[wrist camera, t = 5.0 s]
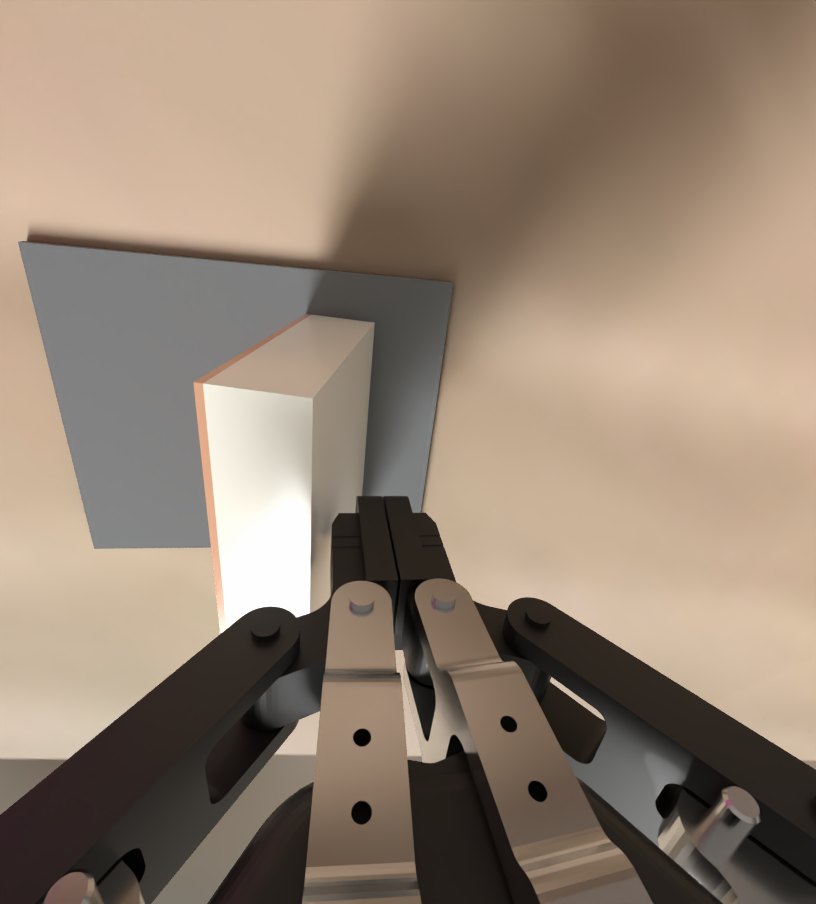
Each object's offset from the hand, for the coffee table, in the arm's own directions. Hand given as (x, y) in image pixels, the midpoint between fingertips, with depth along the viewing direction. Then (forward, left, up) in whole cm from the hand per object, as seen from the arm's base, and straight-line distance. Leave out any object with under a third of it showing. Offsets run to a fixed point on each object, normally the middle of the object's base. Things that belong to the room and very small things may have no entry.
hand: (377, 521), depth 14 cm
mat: (+4, 0, -7) cm, 8 cm away
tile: (+1, 0, -6) cm, 6 cm away
